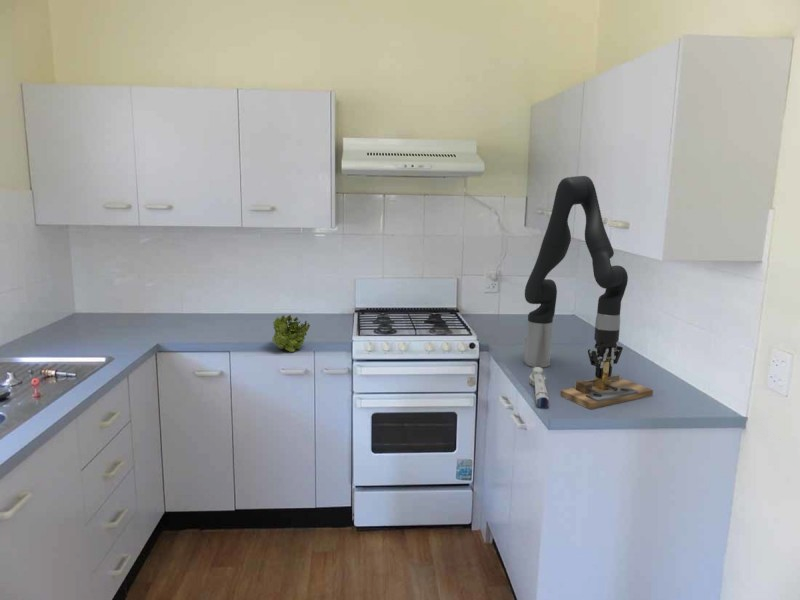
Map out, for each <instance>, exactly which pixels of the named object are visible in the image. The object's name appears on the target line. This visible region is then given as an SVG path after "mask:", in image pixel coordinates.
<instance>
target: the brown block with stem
mask: <svg viewBox="0 0 800 600" xmlns="http://www.w3.org/2000/svg"><path fill="white" fill-rule="evenodd" d="M575 382H576V390H577V391H579V392H581V393H584V394H586V393H591V392H592V393H595V394H599V392H598V391H596V390H594V389H592V383H589V382H587V381H585V380H584V379H581V380H576V381H575Z"/></svg>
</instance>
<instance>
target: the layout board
mask: <svg viewBox="0 0 800 600" xmlns="http://www.w3.org/2000/svg"><path fill="white" fill-rule="evenodd" d="M608 378H609V379H611V385H612V386H615V387H617V388H618V390H613V389H611V388H608V389H601V388H599V387H597V386H594V385H595V378H591V379H587V380H584V381H587V382H589V383H592V389H594V390H596V391H598V392H599V394H595V393H592V392H591V393H586V394H584V393H581V392H579V391H577V390H576V381H575V382H573V387H571V388H565V389H560V395H561V396H560V397H562V398H565V399H566V398H567V400H568V399H569V401H570V402H573V403H575V404H577V405H579V406H582V407H584V408H585V409H588V410H593V409H599V408H603V407H607V406H611V405H612V406H613V405H616V404H621V403H626V402H630V401H635V400H639V399H643V398H649V397H652V396H653V393H654V390H653V389H652V388H649V387H646V386H643V385H641V384H638V383H636V382H634V381H630V380H628V379H625V378H622V377H621V378H620V375H619V374H611V377H608ZM648 396H649V397H648Z"/></svg>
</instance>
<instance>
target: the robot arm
mask: <svg viewBox="0 0 800 600" xmlns="http://www.w3.org/2000/svg"><path fill="white" fill-rule="evenodd" d="M597 194H598V193H597V191H596V187H595V184H594V181H593V180H592V179H591V177H589V176H586V175H578V176H577V175H576V176H569V177H568V176H567V177H565V178H562V179H561V180H560V181H559V183H558V185H557V188H556V192H555V196H554V201H553V205H552V210H551V214H550V217H549V221H548V225H547V226H546V227H547V228H546V229H545V233H544V236H543V238H542V241H541V242H542V243H541V245H540V249H539V252H538V255H537V257H536V261H535V264H534V265H533V269H532V270H531V273H530V275H529V277H528V278H527V282H526V285H525V289H524V299H525V301H526V302H527V303H528V304H530V305H539V307H537V308H536V309H534V310H532V311H530V312H528V314H527V328H526V329H527V330H526V331H527V333H526V338H524V354H523V363H525V365H526V366H529V367H532V368H535V367H540V368H542V369H543V368H548V367H550V364H551V351H552V338H553V337H552V335H553V322H554V321H553V320H554V317H555V315H556V314H555V312H556V303H557V295H558V289H557V288H558V287H557V284H556V282H555V281H554V280H552V279H550V278H549V279H546V278H547V276H548V274H549V273H550V272H551V271H552V270H554V268H556V266H558V265H559V264H560V263H561V262H562V261H563V260H564V259H565V258H566V255H567V253H568V250H569V247H570V243H571V242H572V234H571V231H570V226H569V216H570V213H571V210H572V208H573V206H574V205H580V206H581V207H582V209H583V211H584V215H585V227H584V242H585V244H586V247H587V249H588V252H589V255H590V258H591V260H592V261H591V262H592V270H593V271H592V272H593V277H594V280H595V282H596V283H597V285H598V286H599V287H600V288H602V289H605V291H604V293H603V294H601V295H600V296H599V298H598V301H597V310H596V317H595V327H594V337H593V339H594V340H595V344H594V347H593V348H592V349H590V348H589V349H587V354H588V358H589V362H590V365H591V366H594V367H595V375H594V376H595V377H597V378H599V379H601V378H602V375H603V364H604V362H605V361H606V360H608V361H610V363H609V374H608V377H611V375H613V374H612V371H613V367H614V365H616V364H618V362H619V359H620V357H621V354H622V352H623V349H624V347H622V346H620V345H618V344H617V343H618V342H619V337H620V329H621V309H622V308H621V307H622V300H623V297H624V295H625V293H626V289H627V286H628V280H629V278H628V277H629V276H628V271H627V270H626V268H625V267H623V266H622V265H612V264H611V259H612V258H613V257H614V254H615V252H614V248H613V247H612V244H611V241H610V238H609V237H608V236H609V235H608V234H607V231H606V229H605V225H604V222H603V217H602V213H601V208H600V203H599V199H598V195H597ZM599 360H600V364H599Z"/></svg>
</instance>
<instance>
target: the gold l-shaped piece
mask: <svg viewBox="0 0 800 600" xmlns="http://www.w3.org/2000/svg"><path fill="white" fill-rule="evenodd" d="M609 363H610V361H608V360H606V361H605V362H604V364H603V375H602V378H601V379H599V378H597V377H596V376H595V377H594V379H595V385H594V386H597V387H599V388H601V389H608V388H611V389H613V390H618V388H617V387H615V386H612V385H611V379H609V378H608V374H609ZM599 364H600V360H599Z"/></svg>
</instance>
